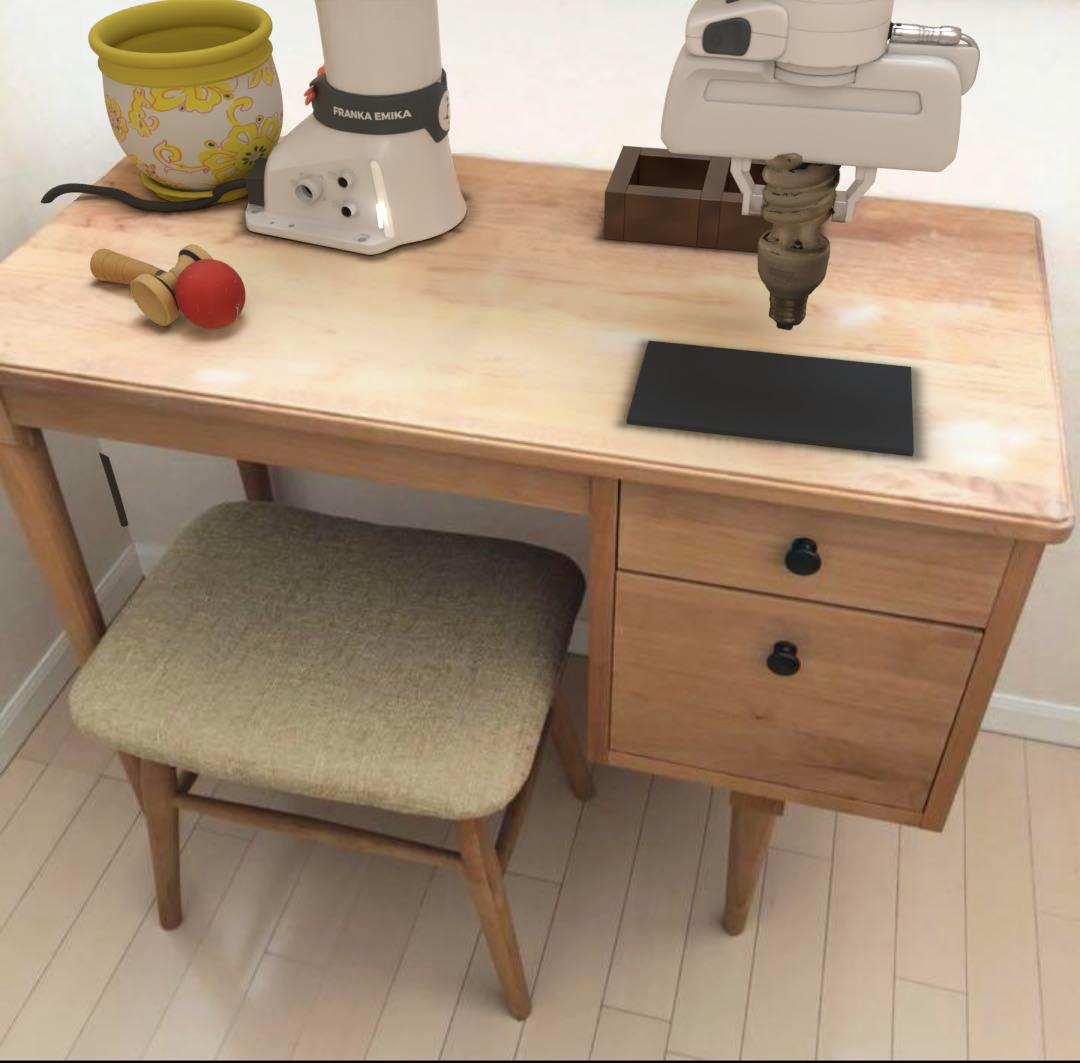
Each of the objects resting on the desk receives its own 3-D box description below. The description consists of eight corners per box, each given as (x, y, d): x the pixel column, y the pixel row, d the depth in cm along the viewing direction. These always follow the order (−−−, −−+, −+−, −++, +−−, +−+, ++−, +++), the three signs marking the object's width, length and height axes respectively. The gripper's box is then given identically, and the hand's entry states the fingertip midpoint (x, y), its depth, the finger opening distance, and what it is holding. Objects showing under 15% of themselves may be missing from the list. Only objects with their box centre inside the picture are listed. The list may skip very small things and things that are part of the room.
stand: (603, 239, 120) (604, 191, 117) (621, 191, 129) (623, 145, 126) (812, 257, 117) (819, 208, 114) (817, 206, 125) (823, 160, 122)
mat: (626, 423, 96) (626, 418, 96) (648, 345, 105) (648, 340, 105) (912, 455, 93) (914, 450, 92) (910, 371, 101) (911, 366, 101)
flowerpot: (321, 156, 137) (301, 4, 126) (247, 226, 124) (218, 63, 113) (178, 139, 141) (147, -10, 130) (92, 206, 128) (50, 46, 117)
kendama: (73, 312, 113) (202, 344, 104) (59, 244, 110) (190, 271, 101) (141, 292, 119) (269, 321, 109) (129, 227, 116) (260, 251, 106)
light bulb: (743, 340, 93) (763, 150, 83) (746, 304, 97) (766, 119, 87) (818, 346, 92) (847, 155, 82) (818, 310, 96) (846, 124, 87)
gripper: (983, 12, 80) (941, 208, 89) (674, -3, 84) (664, 187, 93) (989, 44, 76) (945, 247, 85) (662, 26, 79) (652, 223, 88)
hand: (795, 216), depth 89 cm, fingers closed on light bulb, 5 cm apart
